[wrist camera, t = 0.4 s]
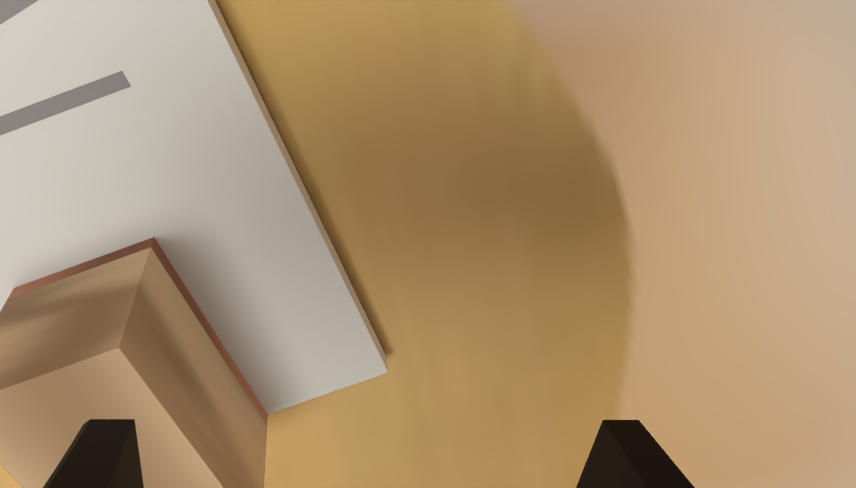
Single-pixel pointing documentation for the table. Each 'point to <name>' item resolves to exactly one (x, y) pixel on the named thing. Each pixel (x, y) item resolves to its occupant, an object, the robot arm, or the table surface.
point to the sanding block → (125, 375)
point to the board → (172, 182)
